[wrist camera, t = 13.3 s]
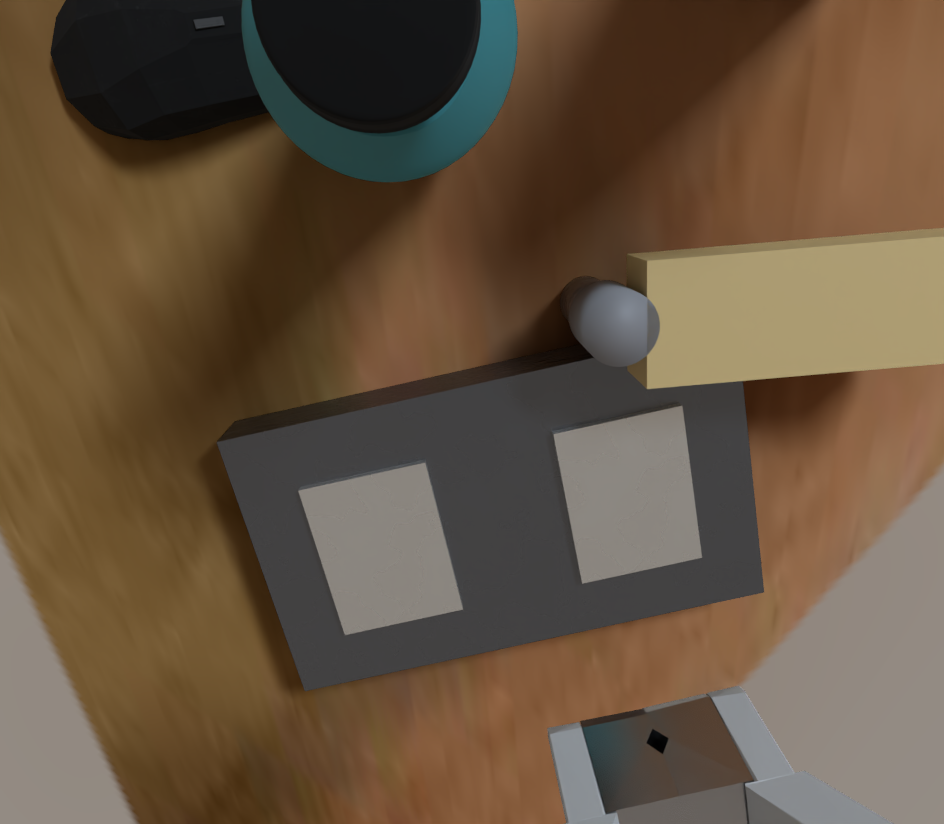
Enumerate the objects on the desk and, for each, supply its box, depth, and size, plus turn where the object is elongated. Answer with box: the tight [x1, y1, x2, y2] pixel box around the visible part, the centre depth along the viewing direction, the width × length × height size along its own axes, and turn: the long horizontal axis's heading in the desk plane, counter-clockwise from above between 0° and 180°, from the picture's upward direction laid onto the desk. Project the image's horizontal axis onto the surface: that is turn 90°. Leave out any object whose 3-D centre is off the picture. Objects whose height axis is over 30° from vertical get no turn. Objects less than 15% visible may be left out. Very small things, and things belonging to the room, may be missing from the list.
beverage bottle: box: [241, 0, 518, 182], centre depth 21 cm, size 6×7×20 cm
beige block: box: [569, 228, 944, 389], centre depth 28 cm, size 18×5×3 cm, turn 94°
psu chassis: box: [217, 276, 764, 691], centre depth 34 cm, size 17×24×4 cm
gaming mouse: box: [51, 0, 269, 140], centre depth 28 cm, size 6×15×4 cm, turn 102°
